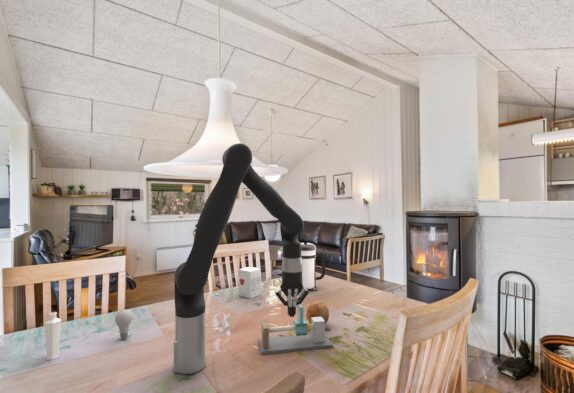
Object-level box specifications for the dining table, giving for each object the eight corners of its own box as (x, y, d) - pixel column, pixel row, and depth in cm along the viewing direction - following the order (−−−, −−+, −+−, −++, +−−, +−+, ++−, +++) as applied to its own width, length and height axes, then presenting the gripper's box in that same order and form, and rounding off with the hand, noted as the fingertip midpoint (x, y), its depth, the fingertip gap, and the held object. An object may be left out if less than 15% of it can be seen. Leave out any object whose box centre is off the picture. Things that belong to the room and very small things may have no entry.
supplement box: (238, 296, 165) (238, 269, 165) (249, 292, 172) (249, 266, 172) (250, 299, 160) (250, 271, 160) (261, 294, 167) (261, 268, 167)
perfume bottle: (57, 359, 99) (58, 314, 100) (42, 361, 98) (42, 316, 98) (63, 352, 104) (64, 309, 104) (49, 354, 103) (49, 311, 103)
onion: (310, 319, 132) (310, 297, 132) (332, 323, 128) (332, 300, 128) (302, 327, 123) (302, 303, 124) (325, 332, 119) (325, 307, 119)
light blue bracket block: (296, 336, 107) (296, 307, 108) (294, 331, 112) (294, 304, 112) (307, 335, 108) (307, 307, 108) (304, 330, 112) (304, 303, 112)
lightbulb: (129, 341, 112) (129, 312, 112) (112, 343, 111) (112, 313, 111) (135, 334, 118) (135, 306, 118) (118, 335, 117) (118, 307, 117)
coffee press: (312, 294, 167) (312, 241, 167) (288, 290, 175) (288, 239, 176) (325, 287, 181) (325, 238, 182) (303, 283, 190) (302, 236, 190)
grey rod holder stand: (260, 354, 102) (260, 329, 102) (258, 341, 112) (258, 318, 112) (332, 347, 107) (332, 323, 107) (324, 335, 117) (324, 313, 117)
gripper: (275, 272, 105) (275, 321, 104) (311, 270, 107) (311, 318, 107) (272, 267, 112) (272, 313, 112) (306, 266, 114) (306, 311, 114)
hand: (291, 316), depth 109 cm, fingers closed
